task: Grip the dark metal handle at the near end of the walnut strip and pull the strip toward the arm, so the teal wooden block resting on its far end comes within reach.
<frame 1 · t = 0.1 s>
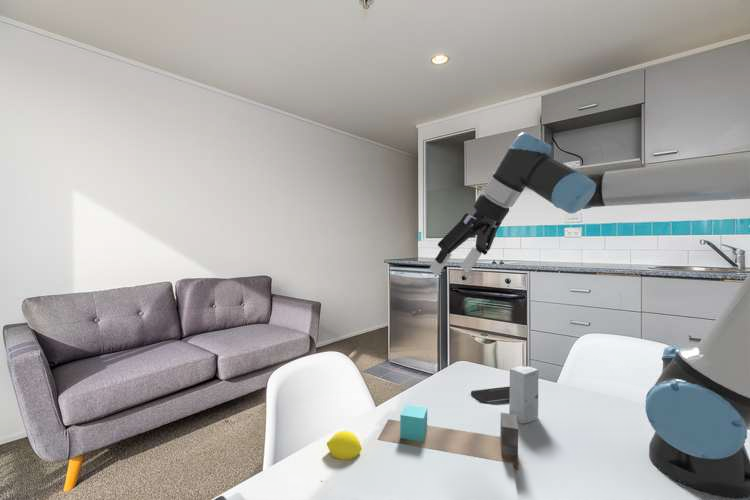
hand: (449, 271, 93), 36 cm above the table, tool tilted 35°, fingers open, 13 cm apart
skincare box: (523, 418, 89), on the table
walnut strip: (446, 428, 77), point 4 cm above the table, slide at 0.0 cm, touching teal block
teal block: (413, 433, 79), point 1 cm above the table, touching walnut strip
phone: (500, 398, 101), on the table
lemon: (344, 460, 72), on the table
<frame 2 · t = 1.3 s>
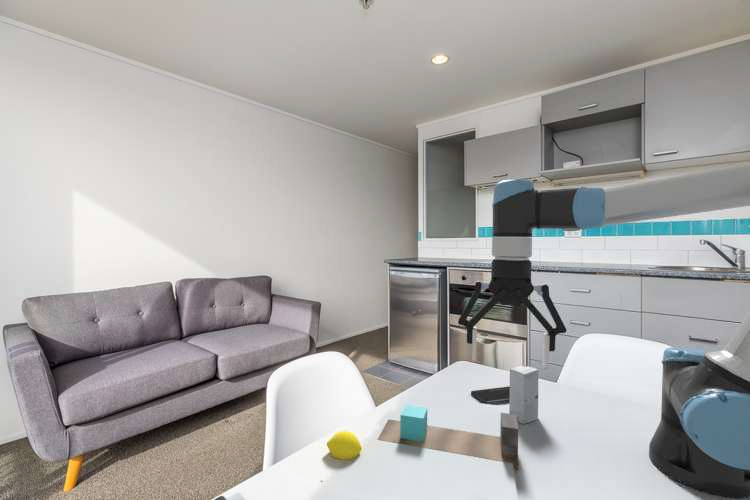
hand: (508, 363, 73), 19 cm above the table, tool pointing down, fingers open, 13 cm apart
nothing on the table moved.
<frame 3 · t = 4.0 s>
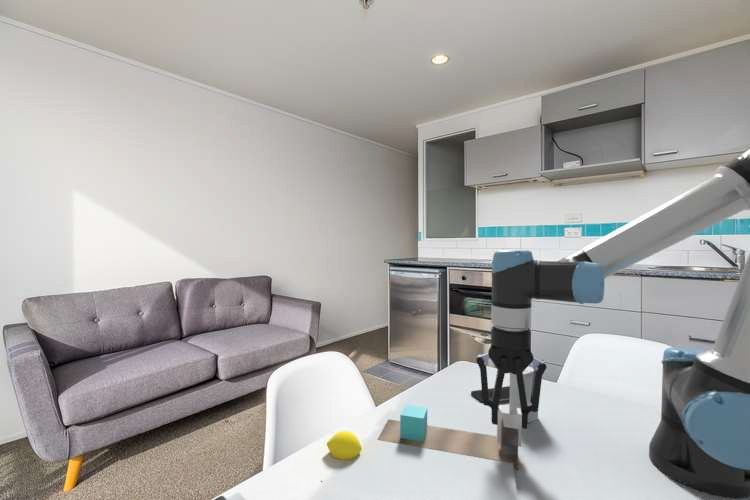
hand: (508, 441, 73), 3 cm above the table, tool pointing down, fingers closed on walnut strip, 3 cm apart
walnut strip: (446, 428, 77), point 4 cm above the table, slide at 0.0 cm, touching gripper, teal block
everything else where it was.
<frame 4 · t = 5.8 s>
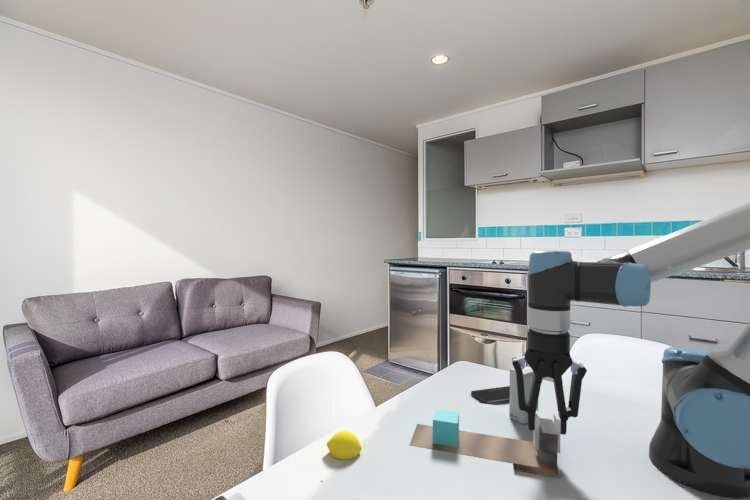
hand: (546, 447, 71), 3 cm above the table, tool pointing down, fingers closed on walnut strip, 3 cm apart
walnut strip: (480, 433, 75), point 4 cm above the table, slide at 6.9 cm, touching gripper, teal block
teal block: (445, 439, 77), point 1 cm above the table, touching walnut strip
everything else where it was.
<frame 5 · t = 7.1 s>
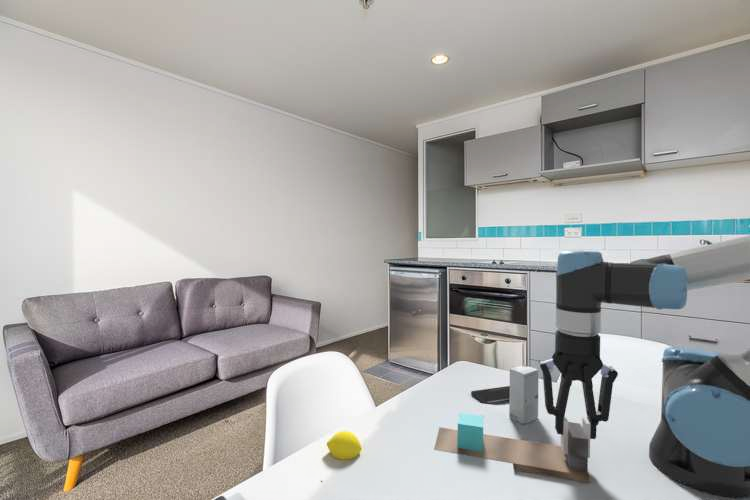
hand: (574, 451, 70), 3 cm above the table, tool pointing down, fingers closed on walnut strip, 3 cm apart
walnut strip: (506, 437, 74), point 4 cm above the table, slide at 12.0 cm, touching gripper, teal block
teal block: (470, 443, 76), point 1 cm above the table, touching walnut strip
everything else where it was.
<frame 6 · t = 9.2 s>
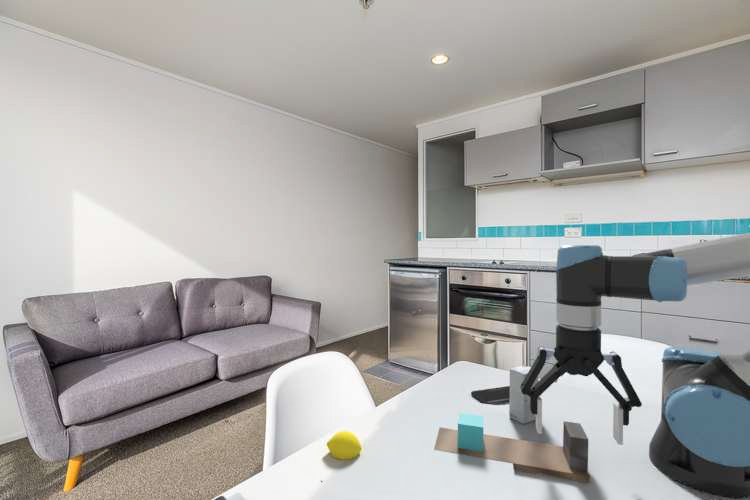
hand: (577, 435, 70), 6 cm above the table, tool pointing down, fingers open, 13 cm apart
walnut strip: (506, 437, 74), point 4 cm above the table, slide at 12.0 cm, touching teal block
everything else where it was.
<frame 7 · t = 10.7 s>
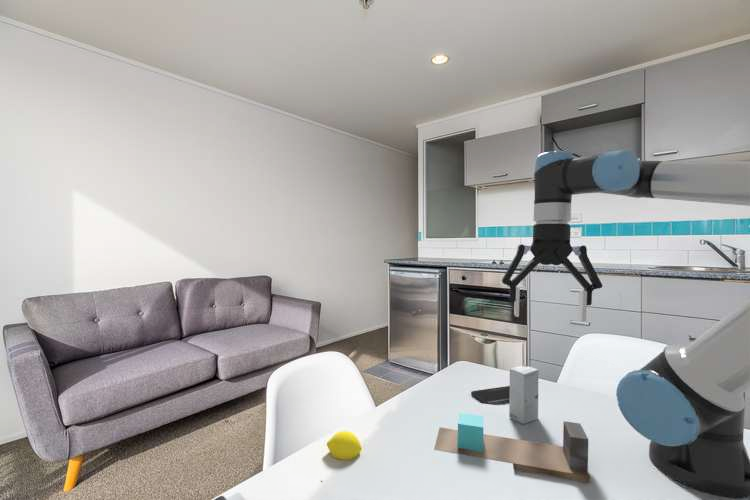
hand: (548, 317, 82), 26 cm above the table, tool pointing down, fingers open, 13 cm apart
nothing on the table moved.
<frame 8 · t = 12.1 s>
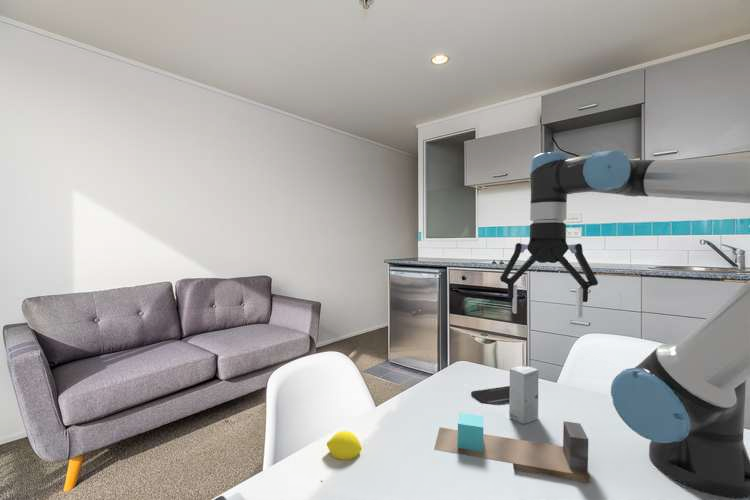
hand: (545, 314, 84), 27 cm above the table, tool pointing down, fingers open, 13 cm apart
nothing on the table moved.
at the end: walnut strip slide at 12.0 cm; teal block inside the target area (0.2 cm from its centre), point 1.3 cm above the table; teal block tilted 0° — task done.
